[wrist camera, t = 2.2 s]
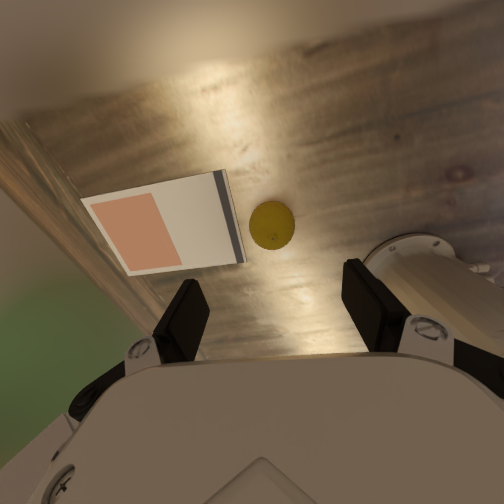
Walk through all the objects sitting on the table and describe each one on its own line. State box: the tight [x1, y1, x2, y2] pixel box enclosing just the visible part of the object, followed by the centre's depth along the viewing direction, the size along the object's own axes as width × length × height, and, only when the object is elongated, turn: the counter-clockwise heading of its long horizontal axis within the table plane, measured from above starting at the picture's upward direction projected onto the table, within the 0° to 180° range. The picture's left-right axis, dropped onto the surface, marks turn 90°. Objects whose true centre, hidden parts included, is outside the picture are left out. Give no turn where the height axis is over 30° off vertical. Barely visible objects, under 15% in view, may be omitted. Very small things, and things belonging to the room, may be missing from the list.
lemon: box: [249, 201, 295, 250], centre depth 22 cm, size 6×6×8 cm
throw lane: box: [81, 169, 247, 276], centre depth 28 cm, size 22×14×1 cm, turn 101°
